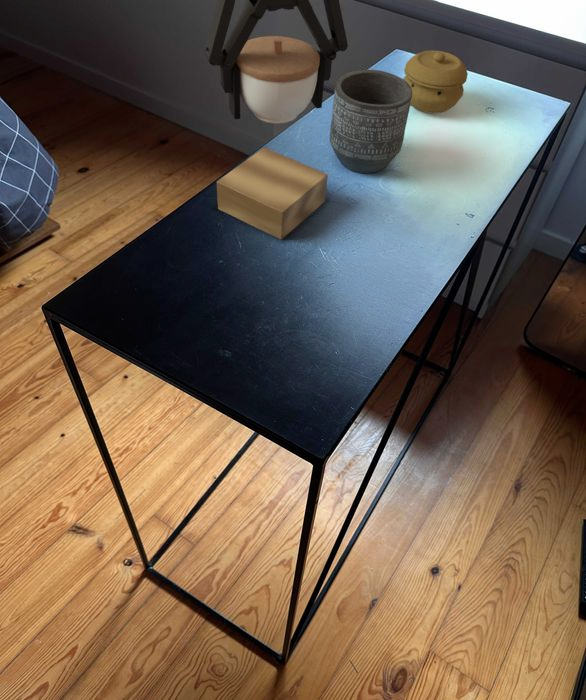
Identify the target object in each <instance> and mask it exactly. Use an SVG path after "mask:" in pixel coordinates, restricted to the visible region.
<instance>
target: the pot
mask: <svg viewBox="0 0 586 700" xmlns="http://www.w3.org/2000/svg"><path fill="white" fill-rule="evenodd" d="M465 65H466V64H464V63H463V61H462V60H461V59H460V58H459V57H457V56H456V55H454V54H453V53H450V52H446V51H442V50H423V51H421V52H418V53H416V54H415V55H413V56H412V57H411V58H410V59H408V60H407V62H406V63H405V66H404V69H403V70H404V75H405V76H404V77H403V78H402V79H404V80H405V81H406V82H407V83H408V84H409V85H410V86H411V88H412V98H411V104H410V107H412V108H414V109H415V110H418V111H421V112H424V113H429V114H430V113H431V114H439V113H443V112H446V111H449V110H450V109H452V108H453V107H455V106H456V104H457V103H458V102H459V101H460V100H461V98H463V96H464V93H465V89H464V84H465V83H466V82H467V79H468V74H469V73H468V70H467V67H466V66H465Z"/></svg>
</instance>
